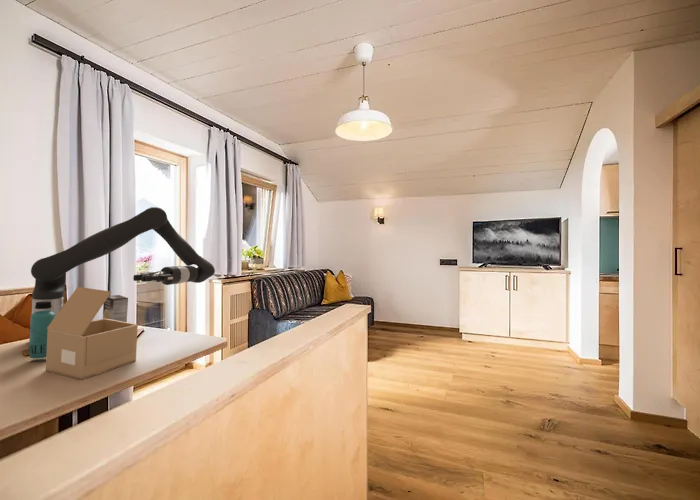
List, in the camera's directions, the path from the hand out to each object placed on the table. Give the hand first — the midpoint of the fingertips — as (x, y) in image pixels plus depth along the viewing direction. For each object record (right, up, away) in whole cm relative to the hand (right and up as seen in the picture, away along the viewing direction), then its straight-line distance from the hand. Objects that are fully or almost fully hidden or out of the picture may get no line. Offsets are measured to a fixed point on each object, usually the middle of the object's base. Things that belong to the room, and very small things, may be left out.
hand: (138, 278), depth 127 cm
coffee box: (-25, -26, +23) cm, 43 cm away
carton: (-7, -28, -14) cm, 32 cm away
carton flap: (-7, -9, -19) cm, 22 cm away
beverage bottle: (-26, -27, -12) cm, 39 cm away
